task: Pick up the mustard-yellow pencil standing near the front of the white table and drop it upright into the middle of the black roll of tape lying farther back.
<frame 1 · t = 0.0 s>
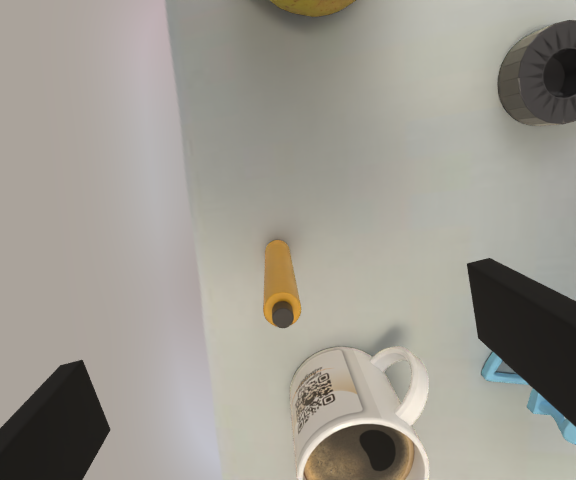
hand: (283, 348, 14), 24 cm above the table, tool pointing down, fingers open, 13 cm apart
mug: (348, 384, 41), on the table
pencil: (277, 251, 37), on the table
chair: (525, 340, 41), on the table
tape: (541, 79, 35), on the table
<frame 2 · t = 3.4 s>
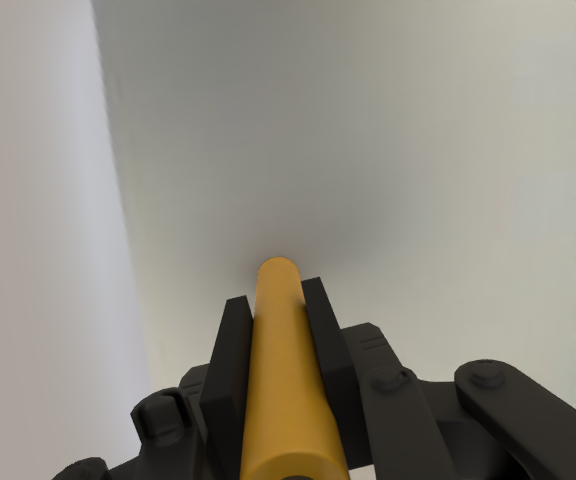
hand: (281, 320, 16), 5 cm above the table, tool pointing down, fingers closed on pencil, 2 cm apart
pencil: (278, 277, 21), on the table, touching gripper
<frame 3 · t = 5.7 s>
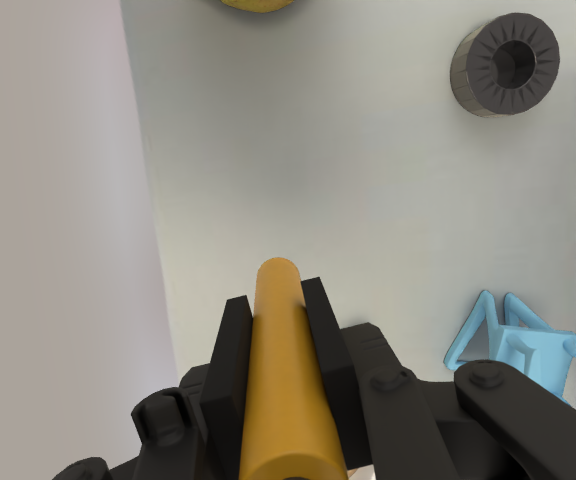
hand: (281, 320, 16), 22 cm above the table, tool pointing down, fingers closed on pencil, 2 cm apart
mug: (313, 374, 42), on the table
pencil: (278, 277, 21), point 17 cm above the table, touching gripper
chair: (487, 329, 41), on the table
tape: (493, 71, 36), on the table
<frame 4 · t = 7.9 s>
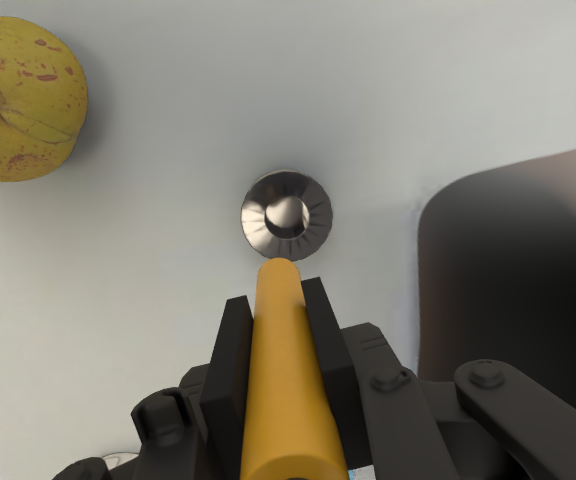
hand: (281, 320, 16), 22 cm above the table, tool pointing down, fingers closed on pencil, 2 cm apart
fruit: (42, 109, 34), on the table
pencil: (278, 277, 21), point 16 cm above the table, touching gripper
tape: (285, 212, 37), on the table
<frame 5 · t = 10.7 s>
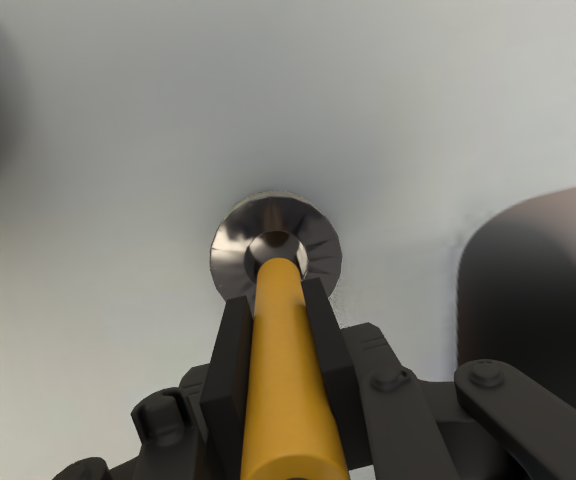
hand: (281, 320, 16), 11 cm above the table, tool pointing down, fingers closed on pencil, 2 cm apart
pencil: (278, 277, 21), point 6 cm above the table, touching gripper
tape: (275, 249, 27), on the table
when the fingers open (6 cm above the table, at t = 12.5 s): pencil stays where it is, resting on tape.
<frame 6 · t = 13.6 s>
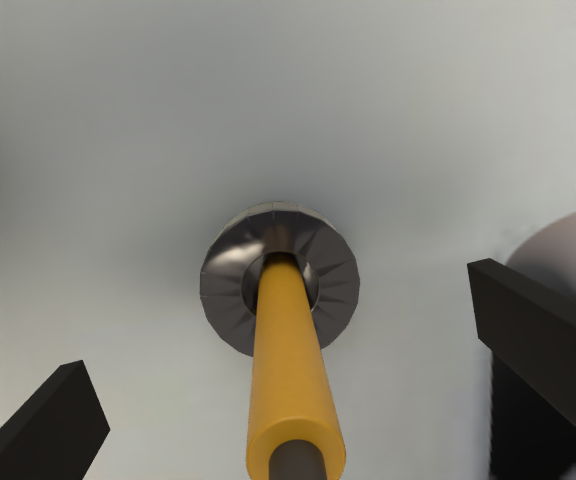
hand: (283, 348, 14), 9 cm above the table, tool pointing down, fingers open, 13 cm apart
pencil: (280, 273, 22), resting on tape
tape: (278, 270, 23), on the table
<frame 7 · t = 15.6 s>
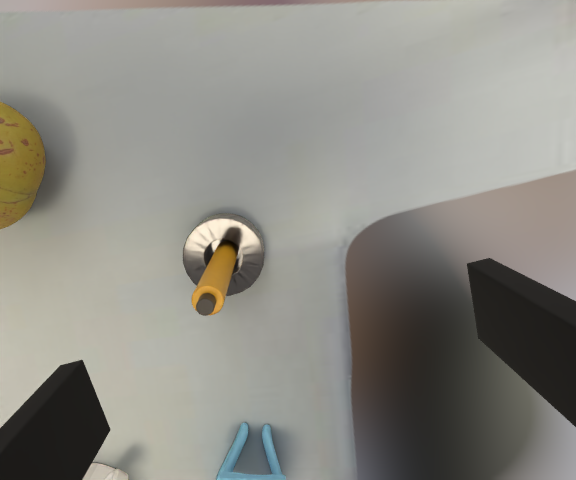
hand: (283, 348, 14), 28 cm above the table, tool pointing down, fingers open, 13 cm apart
fruit: (9, 164, 39), on the table
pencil: (227, 251, 42), resting on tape
chair: (252, 453, 48), on the table
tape: (226, 250, 42), on the table
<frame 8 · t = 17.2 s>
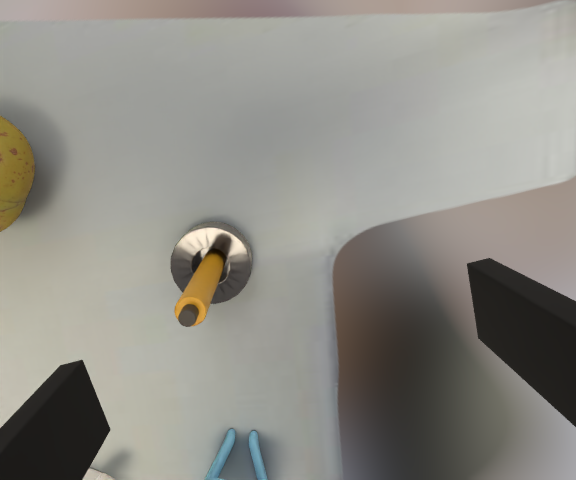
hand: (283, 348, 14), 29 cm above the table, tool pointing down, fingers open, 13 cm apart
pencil: (215, 259, 42), resting on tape
chair: (239, 459, 48), on the table
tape: (214, 258, 42), on the table
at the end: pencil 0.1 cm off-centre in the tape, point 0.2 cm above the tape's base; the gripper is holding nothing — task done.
